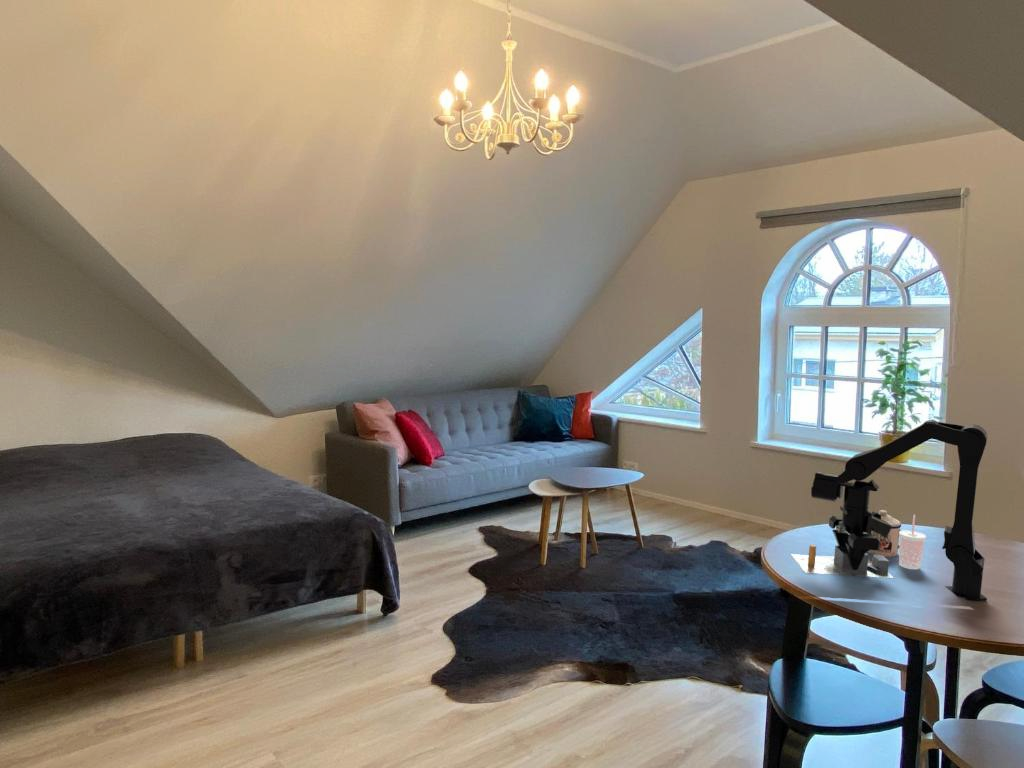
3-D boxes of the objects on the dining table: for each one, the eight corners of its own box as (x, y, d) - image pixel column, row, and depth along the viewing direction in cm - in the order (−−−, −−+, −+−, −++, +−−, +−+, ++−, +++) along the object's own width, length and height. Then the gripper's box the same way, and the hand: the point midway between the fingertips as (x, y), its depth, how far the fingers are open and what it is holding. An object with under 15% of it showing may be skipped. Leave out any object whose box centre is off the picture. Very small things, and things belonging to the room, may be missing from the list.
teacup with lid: (857, 553, 200) (861, 511, 199) (864, 544, 208) (868, 504, 206) (907, 564, 193) (911, 520, 192) (913, 554, 201) (917, 512, 199)
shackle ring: (866, 572, 185) (868, 555, 184) (841, 571, 185) (843, 553, 184) (858, 563, 190) (859, 547, 190) (833, 562, 191) (835, 545, 190)
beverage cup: (926, 573, 187) (931, 519, 185) (899, 571, 188) (905, 517, 186) (918, 565, 193) (923, 512, 191) (892, 562, 194) (897, 510, 192)
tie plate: (893, 580, 182) (895, 566, 181) (805, 574, 184) (806, 560, 183) (873, 561, 194) (874, 547, 194) (790, 556, 196) (791, 543, 196)
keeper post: (815, 566, 188) (817, 547, 187) (808, 566, 188) (810, 547, 187) (813, 564, 189) (815, 545, 189) (807, 563, 189) (808, 544, 189)
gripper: (905, 518, 176) (899, 581, 178) (874, 496, 194) (869, 554, 196) (856, 515, 177) (850, 578, 179) (830, 494, 195) (825, 551, 197)
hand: (850, 565), depth 188 cm, fingers closed on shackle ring, 6 cm apart
